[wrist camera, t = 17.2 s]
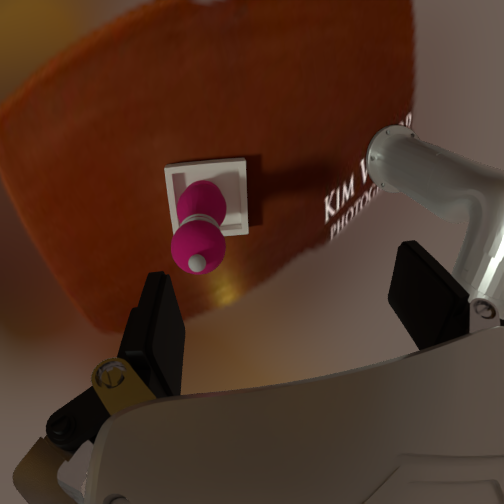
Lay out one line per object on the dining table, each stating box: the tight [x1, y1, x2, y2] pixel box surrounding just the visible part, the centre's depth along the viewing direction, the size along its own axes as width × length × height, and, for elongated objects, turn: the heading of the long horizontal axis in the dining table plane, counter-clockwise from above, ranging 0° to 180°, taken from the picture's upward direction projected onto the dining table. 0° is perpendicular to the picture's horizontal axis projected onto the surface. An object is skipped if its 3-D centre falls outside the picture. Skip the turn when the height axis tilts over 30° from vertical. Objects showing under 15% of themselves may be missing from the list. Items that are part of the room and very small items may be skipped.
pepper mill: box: [171, 180, 227, 274], centre depth 37 cm, size 7×7×20 cm
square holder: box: [164, 158, 248, 236], centre depth 45 cm, size 12×12×2 cm
